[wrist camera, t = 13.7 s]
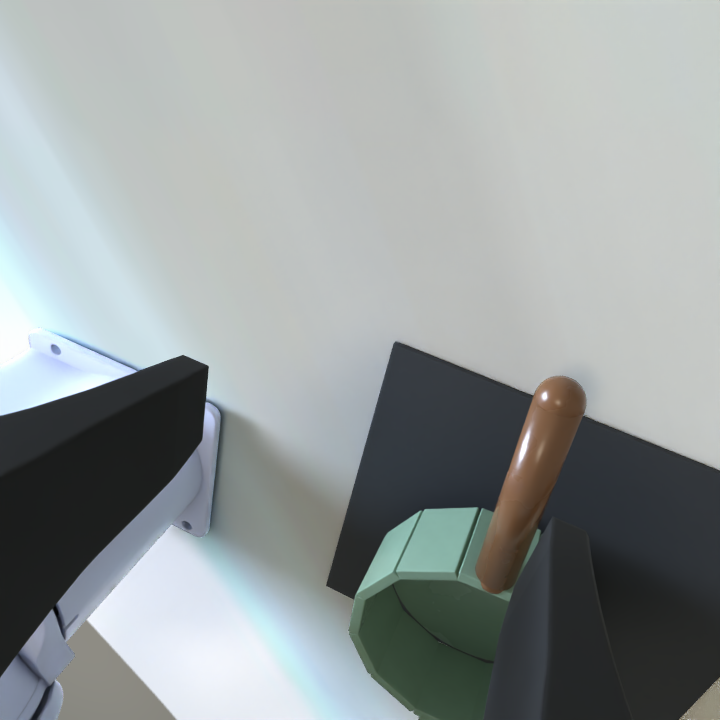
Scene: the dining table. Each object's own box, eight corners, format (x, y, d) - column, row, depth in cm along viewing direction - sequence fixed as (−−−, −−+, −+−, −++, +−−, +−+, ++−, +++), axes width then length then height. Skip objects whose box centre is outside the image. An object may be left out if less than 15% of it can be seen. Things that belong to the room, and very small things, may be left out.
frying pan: (447, 280, 20) (403, 342, 17) (733, 364, 18) (746, 453, 15) (372, 615, 30) (334, 697, 27) (555, 696, 28) (539, 795, 24)
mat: (327, 582, 30) (325, 585, 30) (395, 341, 23) (393, 343, 22) (652, 742, 27) (652, 747, 27) (859, 526, 19) (861, 531, 19)
